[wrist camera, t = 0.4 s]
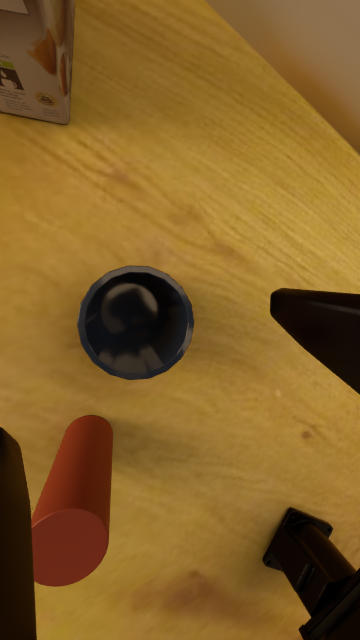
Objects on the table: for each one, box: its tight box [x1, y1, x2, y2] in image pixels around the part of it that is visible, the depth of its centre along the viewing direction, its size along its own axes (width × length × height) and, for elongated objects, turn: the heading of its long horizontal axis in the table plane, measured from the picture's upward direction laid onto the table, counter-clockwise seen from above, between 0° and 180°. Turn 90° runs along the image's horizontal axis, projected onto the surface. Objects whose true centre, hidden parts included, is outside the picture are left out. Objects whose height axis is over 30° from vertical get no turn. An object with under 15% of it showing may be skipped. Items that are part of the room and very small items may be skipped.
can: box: [77, 266, 194, 380], centre depth 18 cm, size 7×7×7 cm
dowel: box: [31, 415, 113, 587], centre depth 17 cm, size 4×4×10 cm
